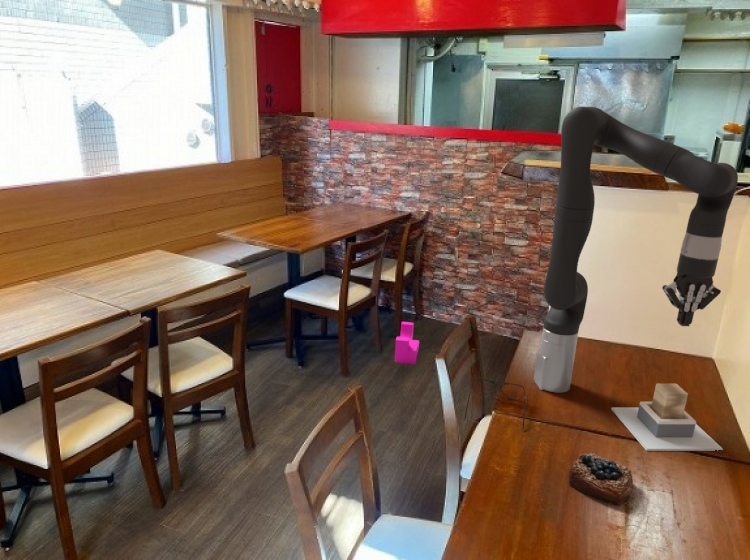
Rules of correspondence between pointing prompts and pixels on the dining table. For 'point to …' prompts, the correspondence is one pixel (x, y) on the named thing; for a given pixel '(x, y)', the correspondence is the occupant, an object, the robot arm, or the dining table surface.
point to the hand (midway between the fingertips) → (683, 324)
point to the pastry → (601, 478)
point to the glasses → (502, 392)
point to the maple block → (669, 401)
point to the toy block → (406, 345)
